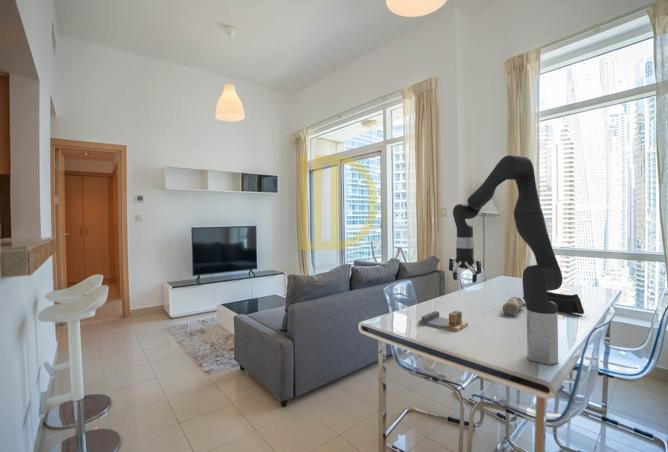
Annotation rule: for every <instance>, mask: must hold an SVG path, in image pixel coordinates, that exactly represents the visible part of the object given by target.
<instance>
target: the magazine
mask: <svg viewBox="0 0 668 452" xmlns="http://www.w3.org/2000/svg"><path fill="white" fill-rule="evenodd" d="M547 298H548V300H549V301H552V302H555V303H556V304H557V308H558V312H560V313H569V314H579V315H584V314H585V310H584V307H583V305H582V301H581V298H580V297H579V295H578V294H577V293H575V294H565V293H564V294H563V293H558V292H552V291H547ZM522 299H523V300H524V295H523V297H522Z"/></svg>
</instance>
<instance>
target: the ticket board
mask: <svg viewBox="0 0 668 452" xmlns="http://www.w3.org/2000/svg"><path fill="white" fill-rule="evenodd" d="M420 318H421V319H420V320H418V324H421V325H424V326H429V327H433V328H438V329H443V326H444V325H446V324H447V323H449V318H447V317H440V312H439V311H436V310H434V311H431V312H429V313H427V314H425V315H422V316H421V317H420ZM443 330H444V329H443Z"/></svg>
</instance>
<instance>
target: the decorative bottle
mask: <svg viewBox="0 0 668 452" xmlns="http://www.w3.org/2000/svg"><path fill="white" fill-rule="evenodd" d="M523 306H524V300H522V299H521V298H520V297H518V296H513V297H510V298H509V299H508V300H507V301H506V302H505V303H504V304H503V306H502V311H503V313H504V314H505V315H506V316H515V315H517V314H519V311H520V310H522V308H523Z"/></svg>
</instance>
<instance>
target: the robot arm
mask: <svg viewBox="0 0 668 452" xmlns="http://www.w3.org/2000/svg"><path fill="white" fill-rule="evenodd" d="M534 168H535V167H534V164H533V161H532V159H531V158H529V157H528V156H526V155H517V154H516V155H515V154H509V155H506V156H504V157H502V158H501V159H500V160H499V161H498V163H496V165H495V166H494V167H493V169H492V170H491V172H490V173H489V175H488V176H487V177H486V179H485V180H484V181H483V182H482V184H481V185H480V186H479V187H478V188H477V189H476V190H475V191H474V192H473V193H472V194H470V196H469V197H468V198H467V200H466V201H467V203H460V204H459V203H458V204H456V205H455V206H454V207H453V210H452V216H453V219H454V225H455V228H456V241H455V242H456V243H455V247H456V249H455V253H456V254H455V256H456V257H455V258H454V257H450V258H449V259H448V270H449V272H450V271H451V272H452V279H453V281H457V280H458V270H459V269H466V270H469V271H470V272H471V273H472V279H471V280H472V284H475V283H476V282H477V281H478V275H479V274H482V273H483V272H482V261H481V259H480V260H479V259H478V260H475V259H474V251H475V250H474V248H475V245H474V244H475V243H474V228H473V225H472V224H469V223H467V222H466V220H470V219H475V217H477V215H478V214H479V213H480V211H481V209H482V208H483V207H484V206H485V205H486V204H487V203H488V202H489V201H491V200H492V199H493V197H494V195H495V191H496V189H497V187H498V186H499V185H500V184H502V183H503V182H505V181H507V180H510V181H512V180H513V181H515V183H516V187H517V191H518V192H517V193H518V196H517V201H516V202H515V206H514V210H513V218H514V223H515V228H516V231H517V232H518V234H519V236H520V237H521V238H522V240H523V241H524V242H525V243H526V244H527V246H528V247H529V248H530V250H531V251H532V253H533V255H534V258H535V263H536V264H531V265H528V266H526V267H525V268H524V270H523V272H522V290H523V291H522V293H523V296H524V299H523V301H524V303H525V307H526V310H525V311H526V353H527V358H528V360H529V361H531V362H536V363H539V364H543V365H547V366H552V365H555V364H558V363H559V328H558V327H559V326H558V325H559V323H558V322H559V321H558V320H559V317H558V316H559V315H558V312H559V311H558V308H557V304H556V303H555V302H552V301H549V300H548V298H547V291H548V292H552V291H556V290H558V289H560V288H561V287H562V284H563V274H562V271H561V267H560V265H559V262H558V260H557V257H556V255H555V252H554V249H553V246H552V242H551V240H550V236H549V233H548V228H547V224H546V220H545V216H544V212H543V209H542V206H541V203H540V201H541V200H540V198H539V194H538V188H537V182H536V175H535V174H536V173H535V169H534ZM455 263H456V266H454V264H455ZM474 264H475V266H476V268H475V266H474Z"/></svg>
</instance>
